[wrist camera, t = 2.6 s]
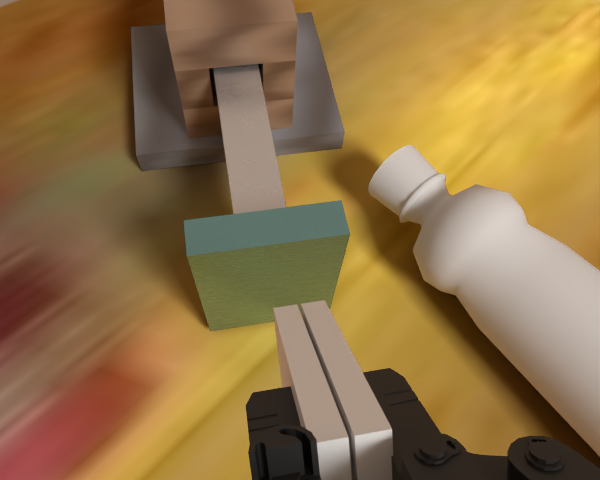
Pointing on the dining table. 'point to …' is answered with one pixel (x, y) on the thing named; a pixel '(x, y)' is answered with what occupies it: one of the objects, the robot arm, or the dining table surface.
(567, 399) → the bottle
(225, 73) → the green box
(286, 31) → the bearing block
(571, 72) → the dining table surface
